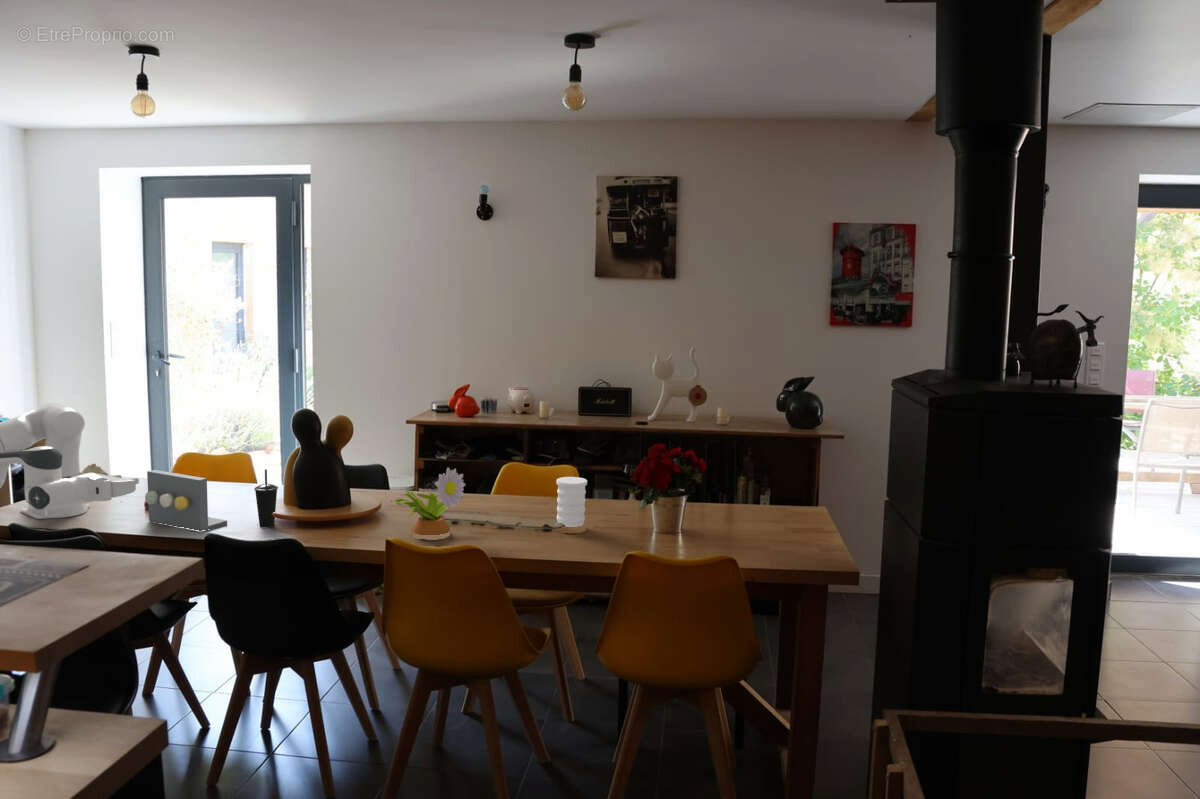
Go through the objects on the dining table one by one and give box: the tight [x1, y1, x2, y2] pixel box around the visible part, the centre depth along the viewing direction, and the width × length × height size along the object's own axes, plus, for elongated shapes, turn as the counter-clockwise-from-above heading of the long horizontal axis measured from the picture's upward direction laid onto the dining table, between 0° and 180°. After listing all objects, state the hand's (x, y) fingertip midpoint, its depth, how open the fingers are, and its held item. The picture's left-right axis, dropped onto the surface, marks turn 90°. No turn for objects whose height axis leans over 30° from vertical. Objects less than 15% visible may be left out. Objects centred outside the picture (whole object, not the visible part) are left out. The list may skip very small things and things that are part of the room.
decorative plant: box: [390, 467, 466, 535], centre depth 300 cm, size 27×24×25 cm
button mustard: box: [174, 496, 189, 510], centre depth 293 cm, size 4×2×4 cm, turn 65°
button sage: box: [144, 491, 159, 505], centre depth 299 cm, size 4×2×4 cm, turn 65°
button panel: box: [146, 469, 228, 531], centre depth 303 cm, size 25×11×18 cm, turn 65°
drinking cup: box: [253, 468, 279, 528], centre depth 303 cm, size 8×8×20 cm
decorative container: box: [556, 476, 588, 527], centre depth 311 cm, size 12×12×18 cm
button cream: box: [160, 493, 174, 507], centre depth 296 cm, size 4×2×4 cm, turn 65°
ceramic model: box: [80, 463, 110, 476], centre depth 349 cm, size 14×11×10 cm
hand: (128, 479), depth 282 cm, fingers open, 7 cm apart
